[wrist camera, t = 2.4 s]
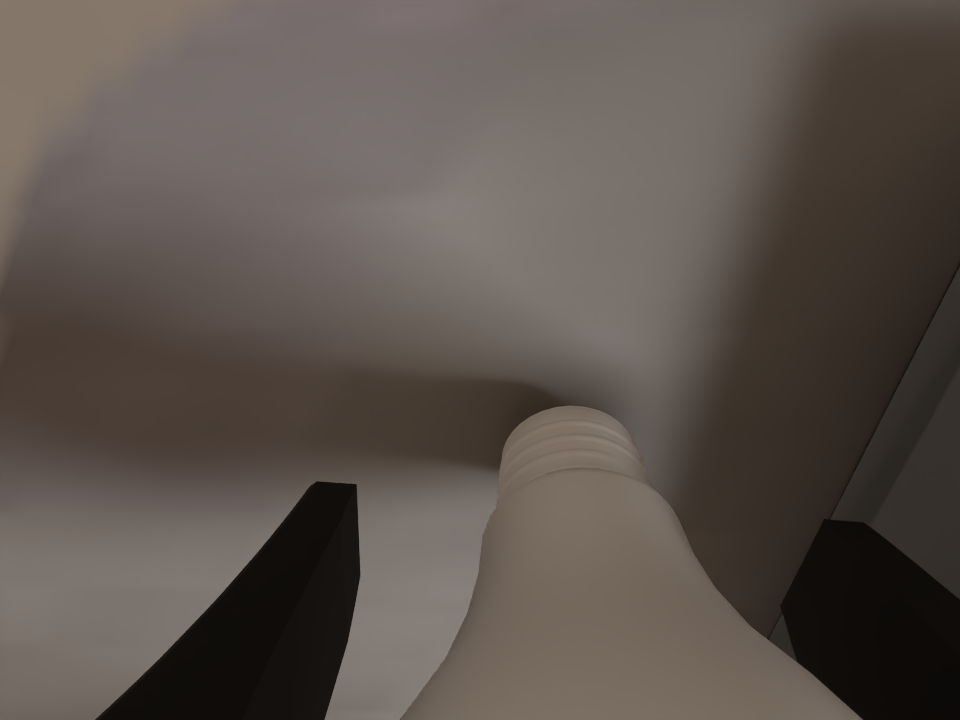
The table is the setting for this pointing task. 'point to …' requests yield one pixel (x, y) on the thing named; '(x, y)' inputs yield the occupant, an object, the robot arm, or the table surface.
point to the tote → (914, 461)
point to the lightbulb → (603, 601)
